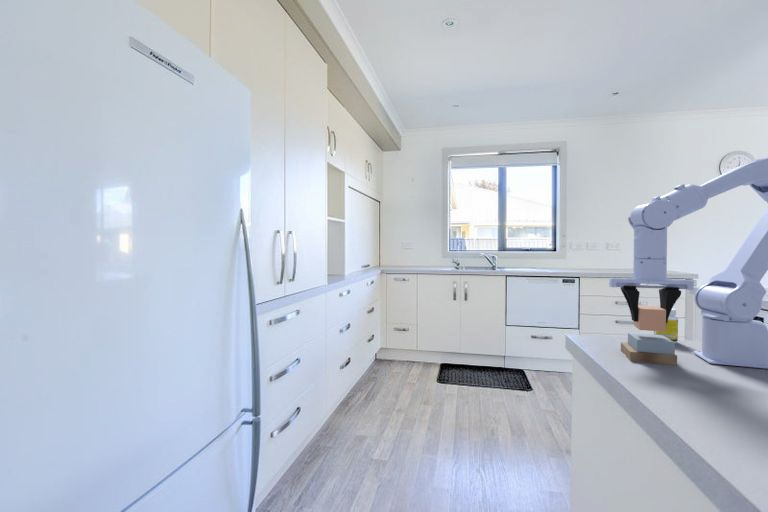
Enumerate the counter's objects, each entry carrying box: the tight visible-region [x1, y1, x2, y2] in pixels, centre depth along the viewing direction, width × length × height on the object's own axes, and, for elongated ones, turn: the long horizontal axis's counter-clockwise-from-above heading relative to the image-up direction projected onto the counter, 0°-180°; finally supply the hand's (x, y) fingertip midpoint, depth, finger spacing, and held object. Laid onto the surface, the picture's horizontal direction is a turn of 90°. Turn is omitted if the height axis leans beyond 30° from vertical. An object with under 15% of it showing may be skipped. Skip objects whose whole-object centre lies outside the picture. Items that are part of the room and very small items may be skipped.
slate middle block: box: [627, 332, 676, 355], centre depth 76 cm, size 6×6×2 cm
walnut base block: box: [620, 341, 678, 366], centre depth 77 cm, size 8×8×2 cm
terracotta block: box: [633, 305, 666, 332], centre depth 76 cm, size 4×4×4 cm
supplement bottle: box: [653, 308, 679, 344], centre depth 89 cm, size 5×5×8 cm
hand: (649, 321), depth 76 cm, fingers closed on terracotta block, 4 cm apart
